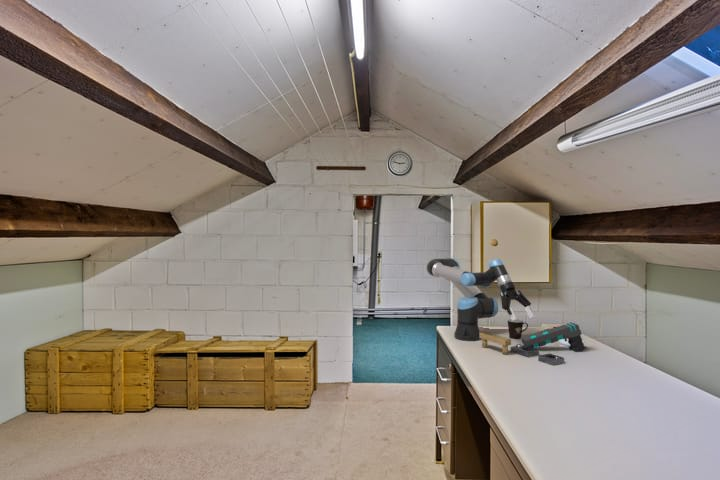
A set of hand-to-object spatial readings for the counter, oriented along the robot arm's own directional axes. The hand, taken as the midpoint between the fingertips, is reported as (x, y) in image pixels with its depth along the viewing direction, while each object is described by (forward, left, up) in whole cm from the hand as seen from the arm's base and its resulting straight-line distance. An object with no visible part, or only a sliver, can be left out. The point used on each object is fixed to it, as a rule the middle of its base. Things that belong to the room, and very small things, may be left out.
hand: (523, 318), depth 220 cm
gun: (+11, +9, -16) cm, 21 cm away
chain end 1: (+9, -9, -15) cm, 20 cm away
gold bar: (-2, -19, -15) cm, 25 cm away
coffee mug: (-15, +13, -15) cm, 25 cm away
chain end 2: (+24, -9, -15) cm, 30 cm away
